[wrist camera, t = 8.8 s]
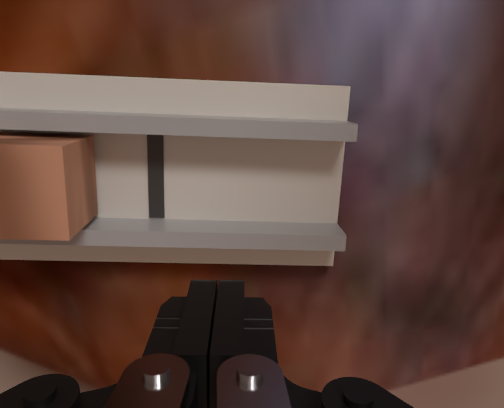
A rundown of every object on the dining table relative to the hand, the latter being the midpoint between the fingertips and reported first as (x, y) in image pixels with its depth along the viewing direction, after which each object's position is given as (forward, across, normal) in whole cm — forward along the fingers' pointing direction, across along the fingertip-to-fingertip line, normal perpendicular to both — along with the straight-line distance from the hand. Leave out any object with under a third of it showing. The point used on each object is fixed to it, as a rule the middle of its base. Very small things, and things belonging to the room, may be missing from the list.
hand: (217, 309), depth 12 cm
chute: (+17, +6, 0) cm, 18 cm away
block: (+16, +12, 0) cm, 20 cm away
